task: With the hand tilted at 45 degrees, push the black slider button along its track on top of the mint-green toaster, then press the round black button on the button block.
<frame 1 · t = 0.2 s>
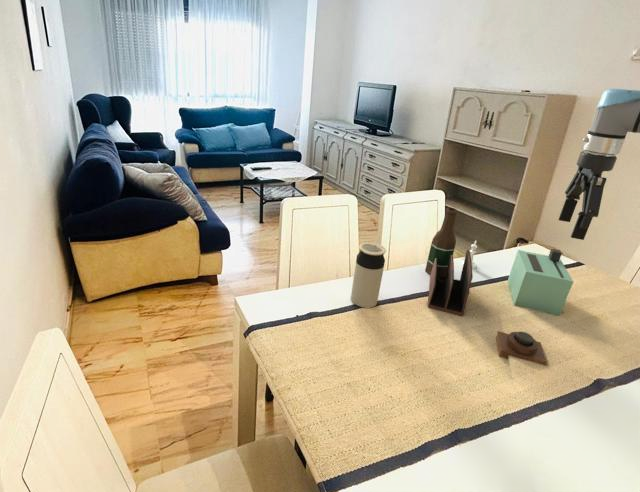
hand: (570, 229, 106), 27 cm above the table, tool pointing down, fingers open, 13 cm apart
chess piece: (468, 265, 141), on the table
start button: (524, 338, 97), point 4 cm above the table, slide at 0.1 cm
letter holder: (444, 295, 122), on the table
toaster: (531, 297, 123), on the table
button block: (518, 352, 99), on the table
travel mug: (363, 301, 117), on the table
toaster slider: (555, 255, 121), point 14 cm above the table, slide at 0.0 cm
beer bottle: (436, 273, 135), on the table
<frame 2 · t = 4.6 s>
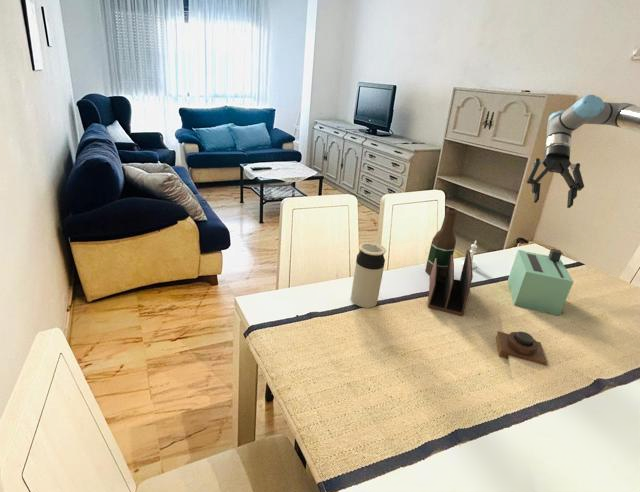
hand: (553, 203, 133), 25 cm above the table, tool tilted 45°, fingers open, 9 cm apart
nothing on the table moved.
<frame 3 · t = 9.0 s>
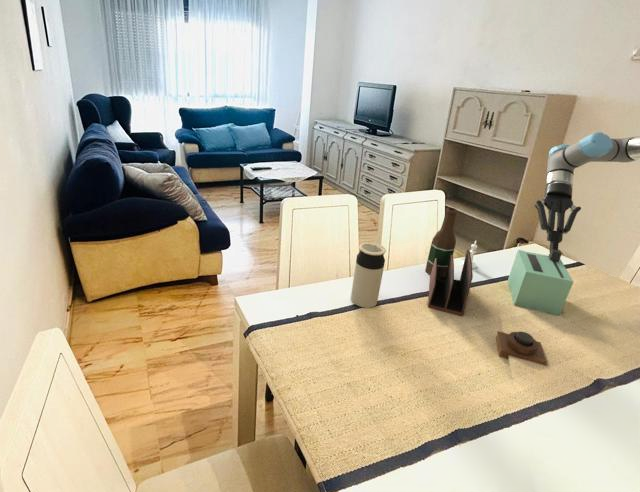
hand: (553, 250, 123), 14 cm above the table, tool tilted 45°, fingers closed
toaster slider: (555, 255, 121), point 14 cm above the table, slide at 0.0 cm, touching gripper
everything else where it was.
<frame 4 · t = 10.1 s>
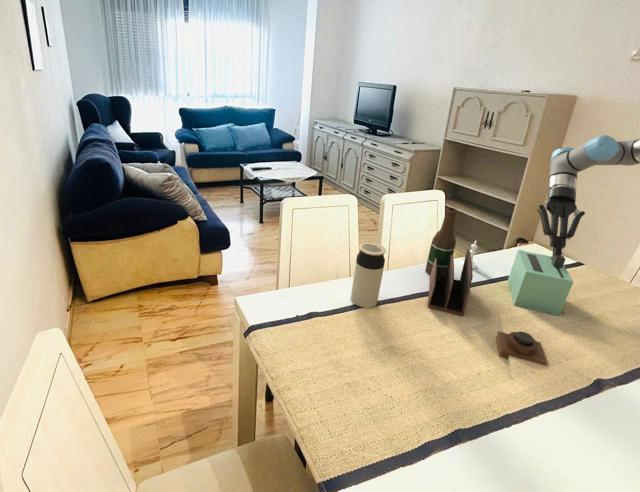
hand: (556, 256, 119), 14 cm above the table, tool tilted 45°, fingers closed
toaster slider: (558, 261, 117), point 14 cm above the table, slide at 4.4 cm, touching gripper
everything else where it was.
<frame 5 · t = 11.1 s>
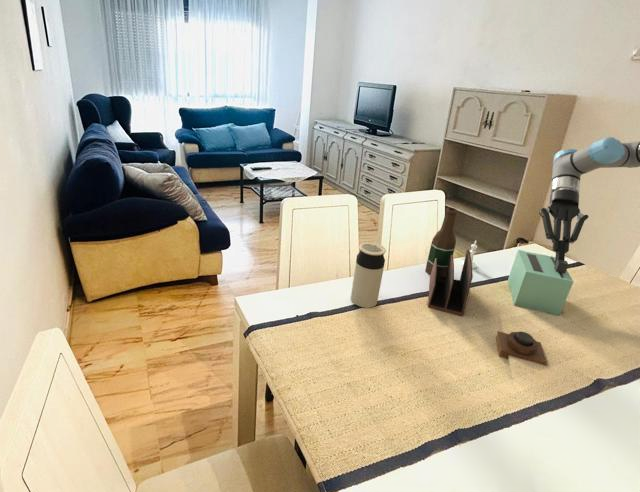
hand: (559, 261, 116), 14 cm above the table, tool tilted 45°, fingers closed
toaster slider: (561, 266, 114), point 14 cm above the table, slide at 7.9 cm, touching gripper
everything else where it was.
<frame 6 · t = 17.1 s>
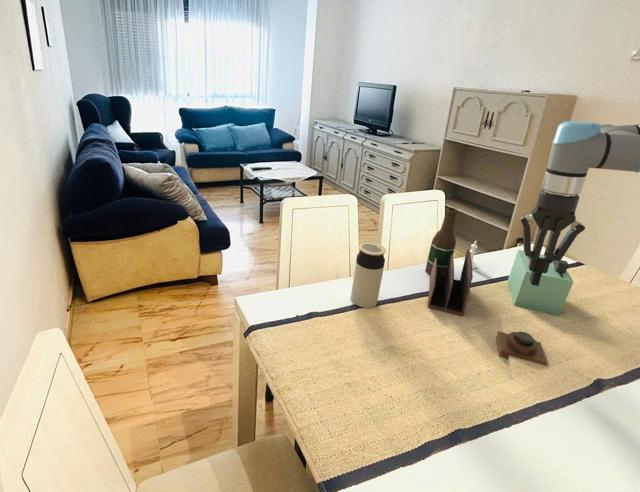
hand: (533, 282, 96), 18 cm above the table, tool pointing down, fingers closed
toaster slider: (561, 266, 114), point 14 cm above the table, slide at 8.0 cm
everything else where it was.
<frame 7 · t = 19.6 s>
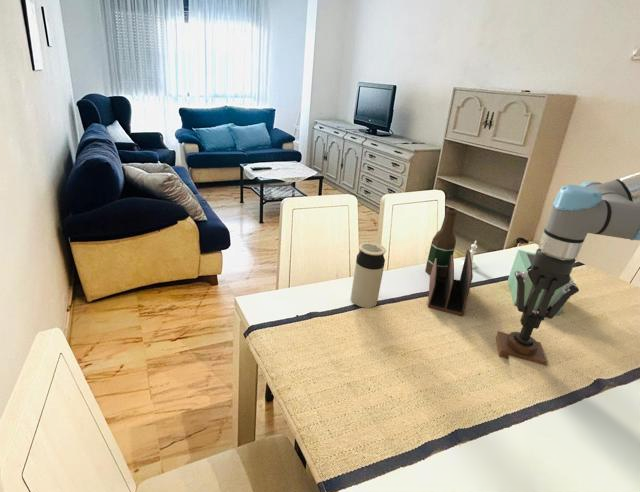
hand: (524, 336, 97), 5 cm above the table, tool pointing down, fingers closed
start button: (523, 339, 97), point 4 cm above the table, slide at -0.2 cm, touching gripper
everything else where it was.
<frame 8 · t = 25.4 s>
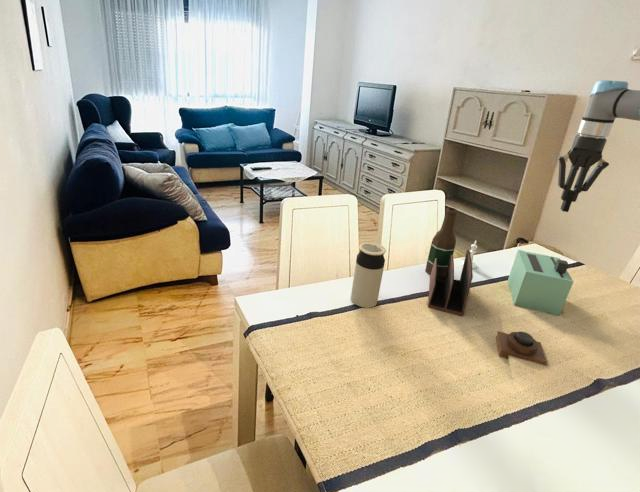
hand: (564, 210, 123), 26 cm above the table, tool pointing down, fingers closed
start button: (524, 338, 97), point 4 cm above the table, slide at 0.1 cm
everything else where it was.
at the end: toaster slider slide at 8.0 cm; start button pushed in 1.0 cm at the most during the clip, back to where it started at the end; start button slide at 0.1 cm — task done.
